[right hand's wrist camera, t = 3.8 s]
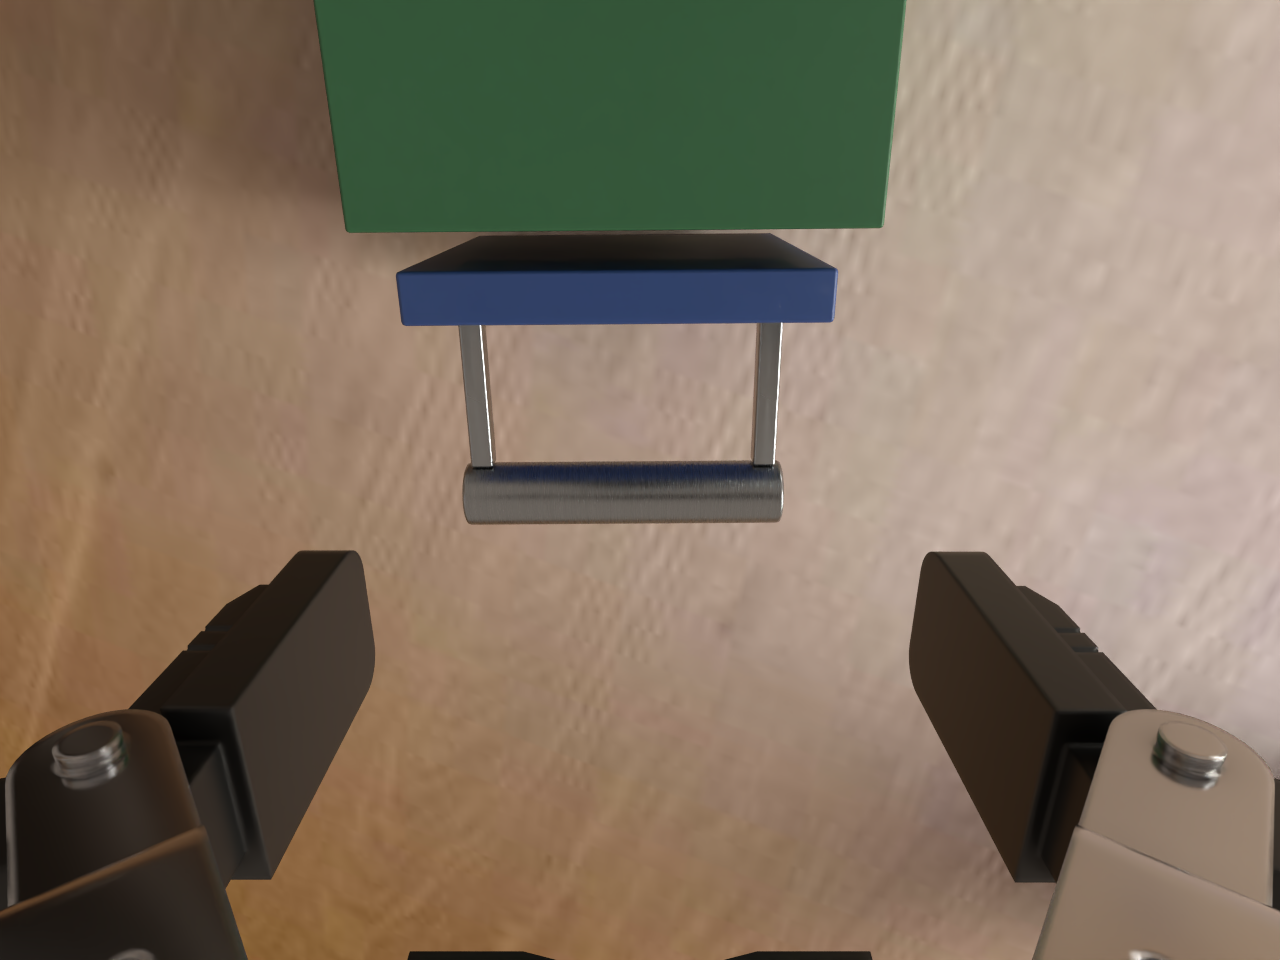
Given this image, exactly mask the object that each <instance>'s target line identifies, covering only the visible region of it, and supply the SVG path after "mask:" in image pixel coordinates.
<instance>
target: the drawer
mask: <svg viewBox="0 0 1280 960" xmlns="http://www.w3.org/2000/svg"><path fill="white" fill-rule="evenodd" d="M837 279H838V270H837V269H836V268H834V267H832V266H830V265H829V264H827V263H825V262H823V261H821V260H819V259H817V258H816V257H814V256H812V255H810V254H808V253H806V252H804V251H802V250H801V249H799V248H797V247H795V246H793V245H791V244H789V243H787V242H786V241H784V240H782V239H780V238H778V237H776V236H774V235H773V234H770V233H755V234H640V235H524V236H479V237H476V238H474V239H472V240H470V241H467V242H465V243H463V244H460V245H458V246H456V247H454V248H451V249H449V250H447V251H445V252H442V253H440V254H438V255H436V256H433V257H431V258H429V259H427V260H424V261H422V262H420V263H418V264H415V265H413V266H411V267H409V268H406V269H404V270H402V271H400V272H397V274H396V281H397V289H398V298H399V306H400V314H401V322H402V324H403V325H405V326H453V325H458V326H459V337H460V348H461V359H462V369H463V380H464V391H465V401H466V412H467V423H468V434H469V444H470V455H471V463H469V464H468V465H467V467H466V470H465V473H464V478H463V493H462V494H463V508H464V514H465V517H466V520H467V522H468V523H469V524H471V525H485V524H629V523H772V522H779V521H780V519H781V516H782V512H783V502H784V484H783V474H782V469H781V466H780V463H779V462H778V461H776V460H775V451H776V434H777V417H778V400H779V382H780V365H781V348H782V331H783V323H821V322H832V321H833V320H834V315H835V303H836V291H837ZM698 323H757V332H756V354H755V376H754V397H753V419H752V441H751V459H752V461H626V462H495V461H496V451H495V439H494V427H493V414H492V402H491V389H490V377H489V365H488V352H487V340H486V327H485V325H576V324H698Z"/></svg>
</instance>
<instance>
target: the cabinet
mask: <svg viewBox="0 0 1280 960" xmlns="http://www.w3.org/2000/svg"><path fill="white" fill-rule="evenodd" d="M314 7H315V15H316V22H317V29H318V36H319V43H320V50H321V58H322V65H323V72H324V79H325V86H326V93H327V100H328V108H329V115H330V122H331V129H332V136H333V143H334V150H335V158H336V165H337V172H338V179H339V186H340V193H341V201H342V208H343V215H344V222H345V229H346V231H347V232H349V233H381V232H496V231H611V230H726V229H841V228H881V227H883V225H884V217H885V207H886V197H887V187H888V177H889V167H890V158H891V148H892V138H893V128H894V118H895V108H896V98H897V88H898V78H899V68H900V58H901V48H902V38H903V28H904V19H905V9H906V0H314Z"/></svg>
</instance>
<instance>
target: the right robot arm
mask: <svg viewBox="0 0 1280 960" xmlns="http://www.w3.org/2000/svg"><path fill="white" fill-rule="evenodd" d="M374 665H375V645H374V638H373V631H372V624H371V617H370V610H369V603H368V597H367V590H366V583H365V576H364V569H363V564H362V561H361V558H360V556H359V554H358V553H357V552H356V551H299V552H298V553H297V554H295V556H294V557H293V558H292V559H291V560H290V561H289V562H288V563H287V565H286V566H285V567H284V568H283V569H282V570H281V571H280V573H279V574H278V575H277V576H276V577H275V578H274V579H273V581H272V582H271V583H270V584H269V585H258V586H257V587H255V588H253V589H252V590H250V591H248V592H246V593H245V594H243V595H241V596H240V597H238V598H236V599H235V600H233V601H231V602H229V603H228V604H226V605H225V606H224V607H223V609H222V610H221V611H220V612H219V613H218V614H217V615H216V616H215V617H214V618H213V619H212V620H211V621H210V622H209V623H208V625H207V626H206V629H205V631H201V632H200V633H199V634H198V635H197V636H196V637H195V638H194V639H193V641H192V642H191V643H190V644H189V645H188V649H187V651H182V652H181V653H180V654H179V655H178V657H177V658H176V659H175V660H174V661H173V662H172V663H171V664H170V665H169V666H168V667H167V668H166V669H165V670H164V671H163V673H162V674H161V675H160V676H159V677H158V678H157V679H156V680H155V681H154V682H153V683H152V684H151V685H150V686H149V687H148V689H147V690H146V691H145V692H144V693H143V694H142V695H141V696H140V697H139V698H138V699H137V700H136V701H135V702H134V703H133V705H132V706H131V707H130V708H129V709H125V710H117V711H110V712H105V713H101V714H97V715H93V716H90V717H86V718H84V719H81V720H78V721H76V722H73V723H71V724H68V725H66V726H64V727H62V728H60V729H58V730H56V731H54V732H52V733H50V734H49V735H47V736H45V737H44V738H42V739H41V740H39V741H38V742H36V743H35V744H33V745H32V746H31V747H30V748H28V749H27V750H26V751H25V752H24V753H23V754H22V755H21V756H20V757H19V758H18V759H17V760H16V761H15V763H14V764H13V765H12V767H11V768H10V770H9V772H8V774H7V776H6V778H1V779H0V960H248V959H247V956H246V953H245V949H244V946H243V943H242V940H241V937H240V934H239V931H238V928H237V925H236V921H235V918H234V915H233V912H232V909H231V906H230V903H229V900H228V897H227V893H226V890H225V889H226V887H227V885H228V883H229V882H230V880H271V879H272V877H273V875H274V873H275V871H276V869H277V867H278V865H279V863H280V861H281V859H282V857H283V855H284V853H285V851H286V849H287V847H288V846H289V844H290V842H291V840H292V838H293V836H294V834H295V832H296V830H297V828H298V826H299V824H300V822H301V820H302V818H303V816H304V814H305V813H306V811H307V809H308V807H309V805H310V803H311V801H312V799H313V797H314V795H315V793H316V791H317V789H318V787H319V785H320V783H321V781H322V780H323V778H324V776H325V774H326V772H327V770H328V768H329V766H330V764H331V762H332V760H333V758H334V756H335V754H336V752H337V750H338V748H339V747H340V745H341V743H342V741H343V739H344V737H345V735H346V733H347V731H348V729H349V727H350V725H351V723H352V721H353V719H354V717H355V715H356V714H357V712H358V710H359V708H360V706H361V704H362V702H363V700H364V698H365V696H366V694H367V692H368V690H369V688H370V685H371V682H372V678H373V672H374ZM909 666H910V674H911V679H912V683H913V686H914V689H915V691H916V693H917V695H918V697H919V699H920V701H921V703H922V705H923V707H924V709H925V711H926V713H927V714H928V716H929V718H930V720H931V722H932V724H933V726H934V728H935V730H936V732H937V734H938V736H939V738H940V739H941V741H942V743H943V745H944V747H945V749H946V751H947V753H948V755H949V757H950V759H951V761H952V762H953V764H954V766H955V768H956V770H957V772H958V774H959V776H960V778H961V780H962V782H963V784H964V785H965V787H966V789H967V791H968V793H969V795H970V797H971V799H972V801H973V803H974V805H975V807H976V808H977V810H978V812H979V814H980V816H981V818H982V820H983V822H984V824H985V826H986V828H987V830H988V831H989V833H990V835H991V837H992V839H993V841H994V843H995V845H996V847H997V849H998V851H999V853H1000V854H1001V856H1002V858H1003V860H1004V862H1005V864H1006V866H1007V868H1008V870H1009V872H1010V874H1011V876H1012V877H1013V879H1014V881H1015V882H1056V887H1055V890H1054V893H1053V897H1052V900H1051V903H1050V906H1049V909H1048V912H1047V915H1046V918H1045V921H1044V925H1043V928H1042V931H1041V934H1040V937H1039V940H1038V943H1037V946H1036V949H1035V953H1034V956H1033V959H1032V960H1280V780H1278V779H1274V776H1273V774H1272V772H1271V770H1270V768H1269V767H1268V765H1267V764H1266V763H1265V761H1264V760H1263V759H1262V758H1261V757H1260V756H1259V755H1258V754H1257V753H1256V752H1255V751H1254V750H1253V749H1252V748H1250V747H1249V746H1248V745H1247V744H1245V743H1244V742H1242V741H1241V740H1239V739H1238V738H1236V737H1235V736H1233V735H1231V734H1230V733H1228V732H1226V731H1224V730H1222V729H1220V728H1218V727H1216V726H1214V725H1212V724H1209V723H1207V722H1204V721H1202V720H1199V719H1196V718H1194V717H1190V716H1187V715H1183V714H1179V713H1175V712H1170V711H1163V710H1157V709H1156V708H1155V707H1154V706H1153V705H1152V704H1151V703H1150V702H1149V701H1148V700H1147V699H1146V698H1145V696H1144V695H1143V694H1142V693H1141V692H1140V691H1139V690H1138V689H1137V688H1136V687H1135V686H1134V685H1133V684H1132V683H1131V682H1130V681H1129V680H1128V679H1127V677H1126V676H1125V675H1124V674H1123V673H1122V672H1121V671H1120V670H1119V669H1118V668H1117V667H1116V666H1115V665H1114V664H1113V663H1112V662H1111V661H1110V659H1109V658H1108V657H1107V656H1106V655H1105V654H1104V653H1103V652H1098V647H1097V646H1096V645H1095V644H1094V643H1093V642H1092V640H1091V639H1090V638H1089V637H1088V636H1087V635H1086V634H1085V633H1080V628H1079V627H1078V626H1077V625H1076V624H1075V622H1074V621H1073V620H1072V619H1071V618H1070V617H1069V616H1068V615H1067V614H1066V613H1065V612H1064V611H1063V610H1062V609H1061V608H1060V607H1059V606H1058V605H1057V604H1055V603H1053V602H1052V601H1050V600H1048V599H1046V598H1045V597H1043V596H1041V595H1039V594H1038V593H1036V592H1034V591H1033V590H1031V589H1029V588H1027V587H1026V586H1016V585H1015V584H1014V583H1013V582H1012V581H1011V580H1010V578H1009V577H1008V576H1007V575H1006V574H1005V573H1004V572H1003V571H1002V569H1001V568H1000V567H999V566H998V565H997V564H996V563H995V562H994V560H993V559H992V558H991V557H990V556H989V555H988V554H987V553H985V552H929V553H928V554H927V555H926V556H925V558H924V560H923V563H922V567H921V572H920V579H919V586H918V592H917V599H916V606H915V612H914V619H913V626H912V633H911V639H910V647H909ZM408 960H554V959H550V958H546V957H542V956H539V955H535V954H531V953H527V952H523V951H410V953H409V956H408ZM726 960H872V956H871V953H870V951H757V952H753V953H749V954H745V955H741V956H738V957H734V958H730V959H726Z"/></svg>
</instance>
